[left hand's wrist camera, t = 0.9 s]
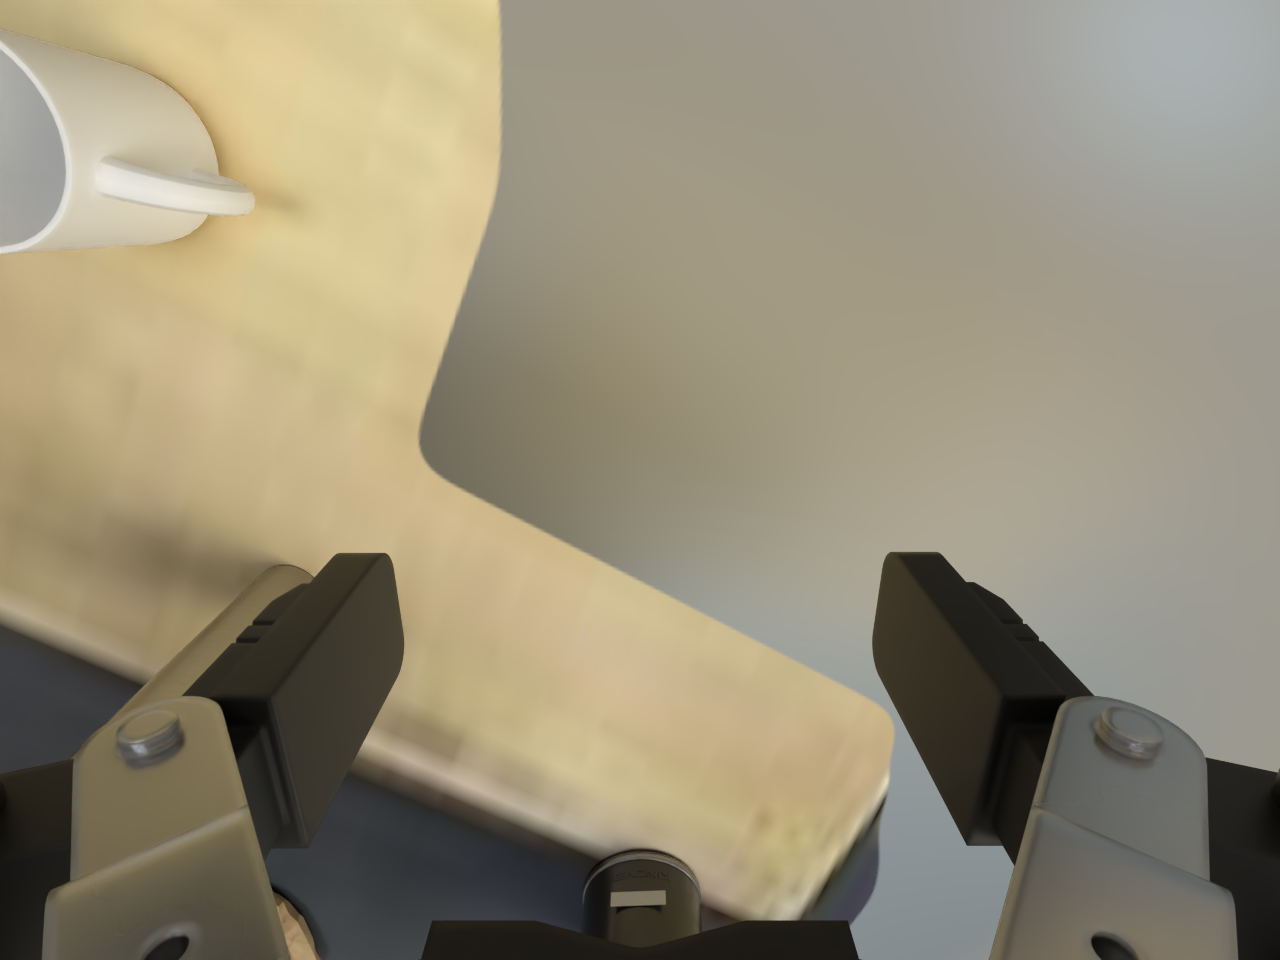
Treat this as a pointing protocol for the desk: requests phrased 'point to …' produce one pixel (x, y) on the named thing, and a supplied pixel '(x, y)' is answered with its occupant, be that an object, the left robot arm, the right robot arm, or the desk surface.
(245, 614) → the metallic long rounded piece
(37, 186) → the mug
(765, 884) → the desk surface
